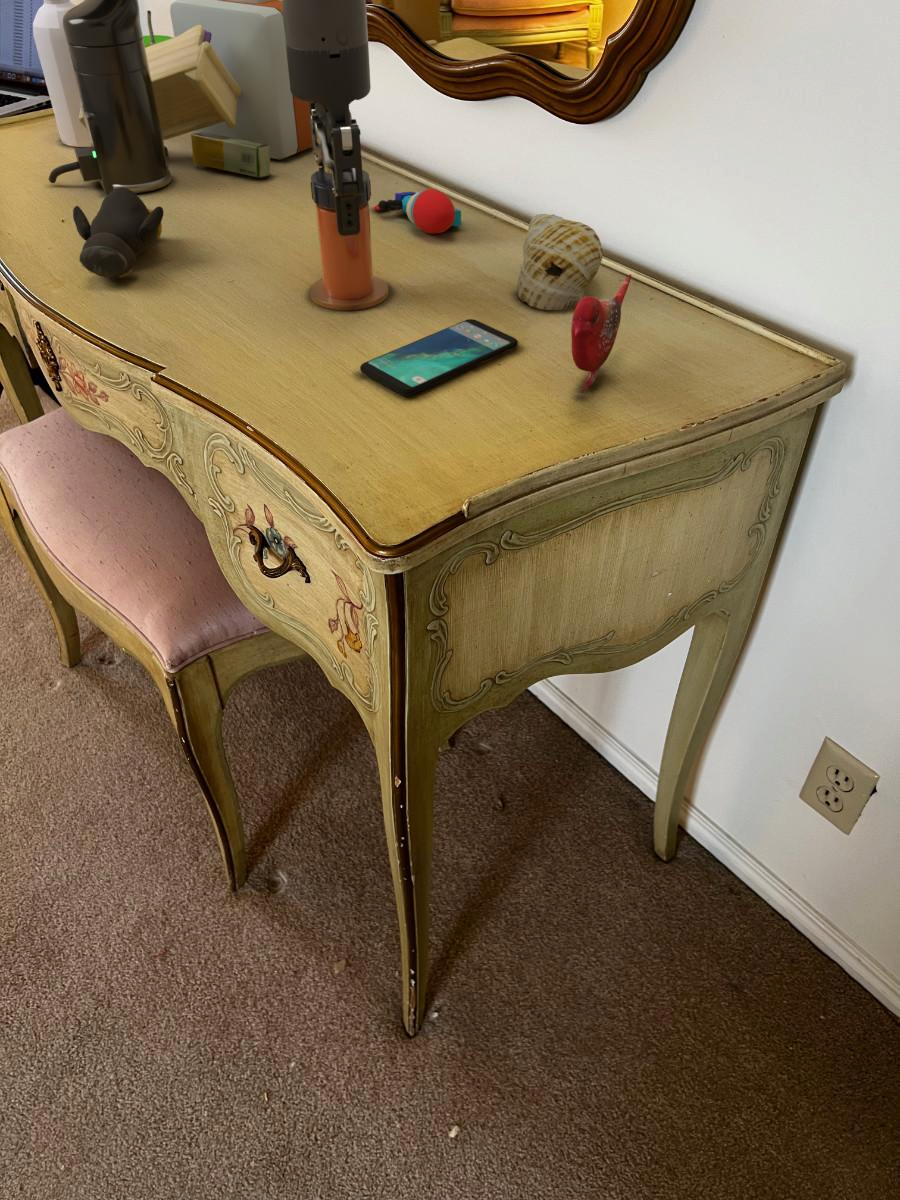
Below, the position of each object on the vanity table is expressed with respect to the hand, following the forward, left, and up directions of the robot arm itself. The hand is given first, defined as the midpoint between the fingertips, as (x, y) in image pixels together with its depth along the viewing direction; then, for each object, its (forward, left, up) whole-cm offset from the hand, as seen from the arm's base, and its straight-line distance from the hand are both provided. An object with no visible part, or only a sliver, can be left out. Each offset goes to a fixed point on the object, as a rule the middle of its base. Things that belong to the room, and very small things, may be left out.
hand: (340, 218), depth 95 cm
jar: (0, 0, -8) cm, 8 cm away
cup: (-4, +81, -8) cm, 81 cm away
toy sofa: (-10, +50, -2) cm, 51 cm away
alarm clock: (+5, +56, -8) cm, 56 cm away
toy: (-17, +26, -4) cm, 31 cm away
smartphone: (+3, -18, -8) cm, 20 cm away
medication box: (-1, +45, -8) cm, 46 cm away
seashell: (+21, -8, -8) cm, 24 cm away
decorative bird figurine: (+16, -26, -8) cm, 32 cm away
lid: (0, 0, +4) cm, 4 cm away
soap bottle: (-18, +69, -8) cm, 72 cm away
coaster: (0, 0, -8) cm, 8 cm away
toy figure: (+15, +16, -8) cm, 24 cm away
